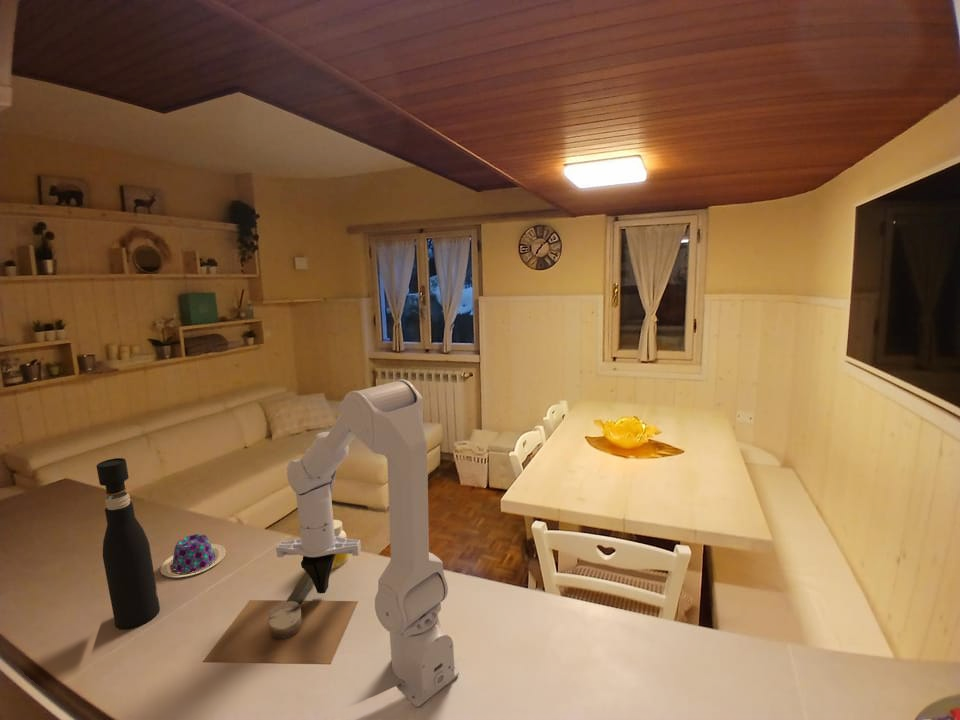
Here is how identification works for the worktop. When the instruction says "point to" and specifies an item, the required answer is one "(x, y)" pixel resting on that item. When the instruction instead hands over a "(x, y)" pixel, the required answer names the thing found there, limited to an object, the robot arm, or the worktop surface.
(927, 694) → the worktop surface
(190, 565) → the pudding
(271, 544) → the worktop surface
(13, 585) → the worktop surface
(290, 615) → the round-headed handle tool
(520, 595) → the worktop surface
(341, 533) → the supplement bottle
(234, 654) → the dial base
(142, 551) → the black water bottle
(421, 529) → the robot arm
